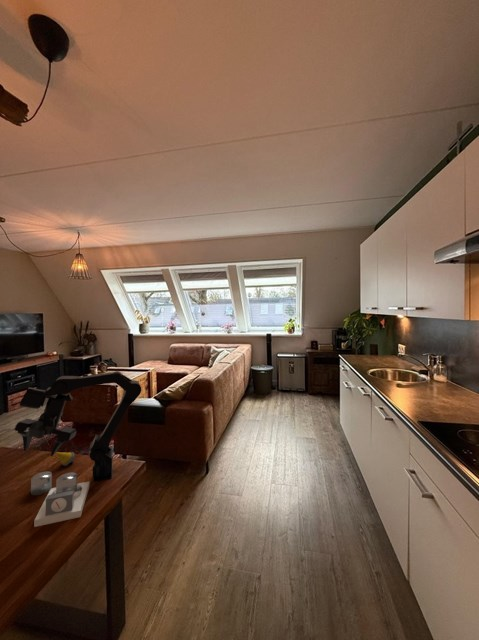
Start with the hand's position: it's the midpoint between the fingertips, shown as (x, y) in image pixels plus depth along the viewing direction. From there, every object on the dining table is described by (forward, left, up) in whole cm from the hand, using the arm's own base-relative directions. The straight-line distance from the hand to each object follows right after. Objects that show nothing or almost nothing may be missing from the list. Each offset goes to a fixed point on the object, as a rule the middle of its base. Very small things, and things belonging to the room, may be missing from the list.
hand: (38, 453), depth 95 cm
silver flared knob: (-1, 0, -13) cm, 13 cm away
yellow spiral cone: (-5, -16, -13) cm, 21 cm away
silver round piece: (-11, +10, -10) cm, 18 cm away
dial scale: (-11, +12, -13) cm, 21 cm away
